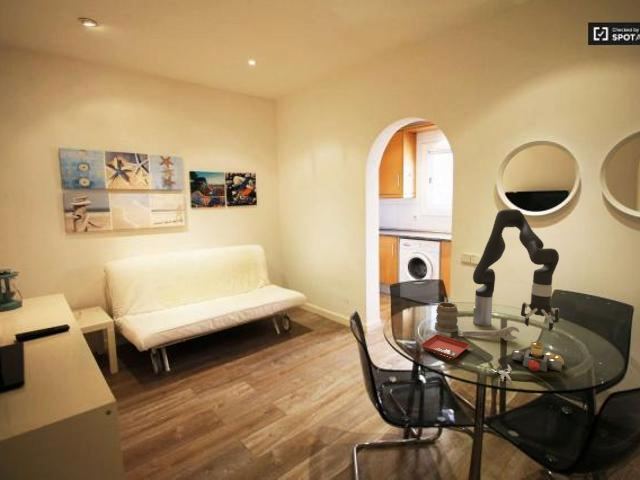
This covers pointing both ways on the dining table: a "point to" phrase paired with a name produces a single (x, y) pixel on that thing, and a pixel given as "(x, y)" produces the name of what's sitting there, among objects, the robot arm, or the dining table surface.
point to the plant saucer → (445, 345)
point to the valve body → (536, 361)
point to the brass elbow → (555, 357)
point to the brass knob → (536, 350)
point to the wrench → (492, 333)
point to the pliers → (505, 374)
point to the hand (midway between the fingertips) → (538, 327)
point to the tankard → (446, 317)
